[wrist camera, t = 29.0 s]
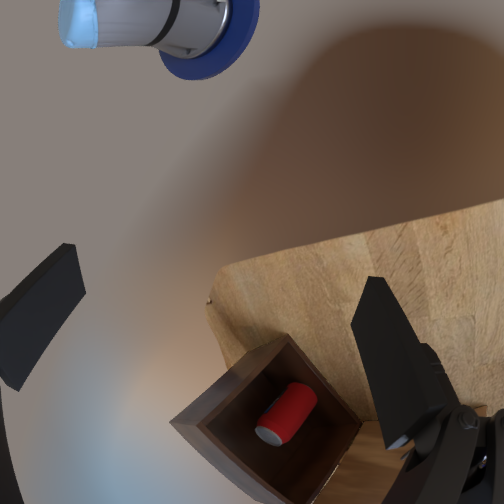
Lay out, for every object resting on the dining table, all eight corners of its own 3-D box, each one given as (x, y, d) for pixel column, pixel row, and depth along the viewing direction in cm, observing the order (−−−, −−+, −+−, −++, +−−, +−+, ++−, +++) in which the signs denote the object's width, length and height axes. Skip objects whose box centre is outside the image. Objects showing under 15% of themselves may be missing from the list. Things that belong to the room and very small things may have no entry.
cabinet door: (488, 426, 26) (454, 543, 11) (374, 438, 43) (319, 526, 28) (487, 405, 26) (453, 535, 11) (364, 420, 43) (303, 514, 28)
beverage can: (284, 378, 51) (245, 421, 42) (312, 380, 46) (274, 429, 37) (297, 401, 51) (262, 443, 43) (324, 404, 47) (290, 452, 38)
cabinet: (288, 333, 46) (195, 425, 31) (362, 422, 44) (301, 515, 28) (247, 352, 56) (168, 422, 41) (314, 427, 54) (255, 500, 38)
